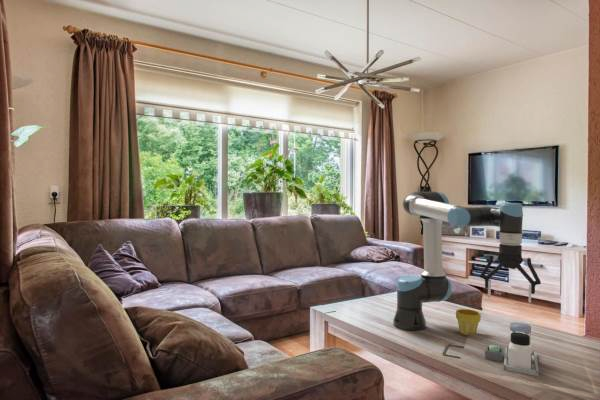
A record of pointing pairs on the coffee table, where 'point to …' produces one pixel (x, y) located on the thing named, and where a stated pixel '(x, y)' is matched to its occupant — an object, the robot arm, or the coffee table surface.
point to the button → (494, 348)
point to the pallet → (499, 357)
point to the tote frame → (446, 349)
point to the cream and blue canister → (520, 329)
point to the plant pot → (468, 320)
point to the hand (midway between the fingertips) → (509, 299)
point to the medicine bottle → (520, 351)
